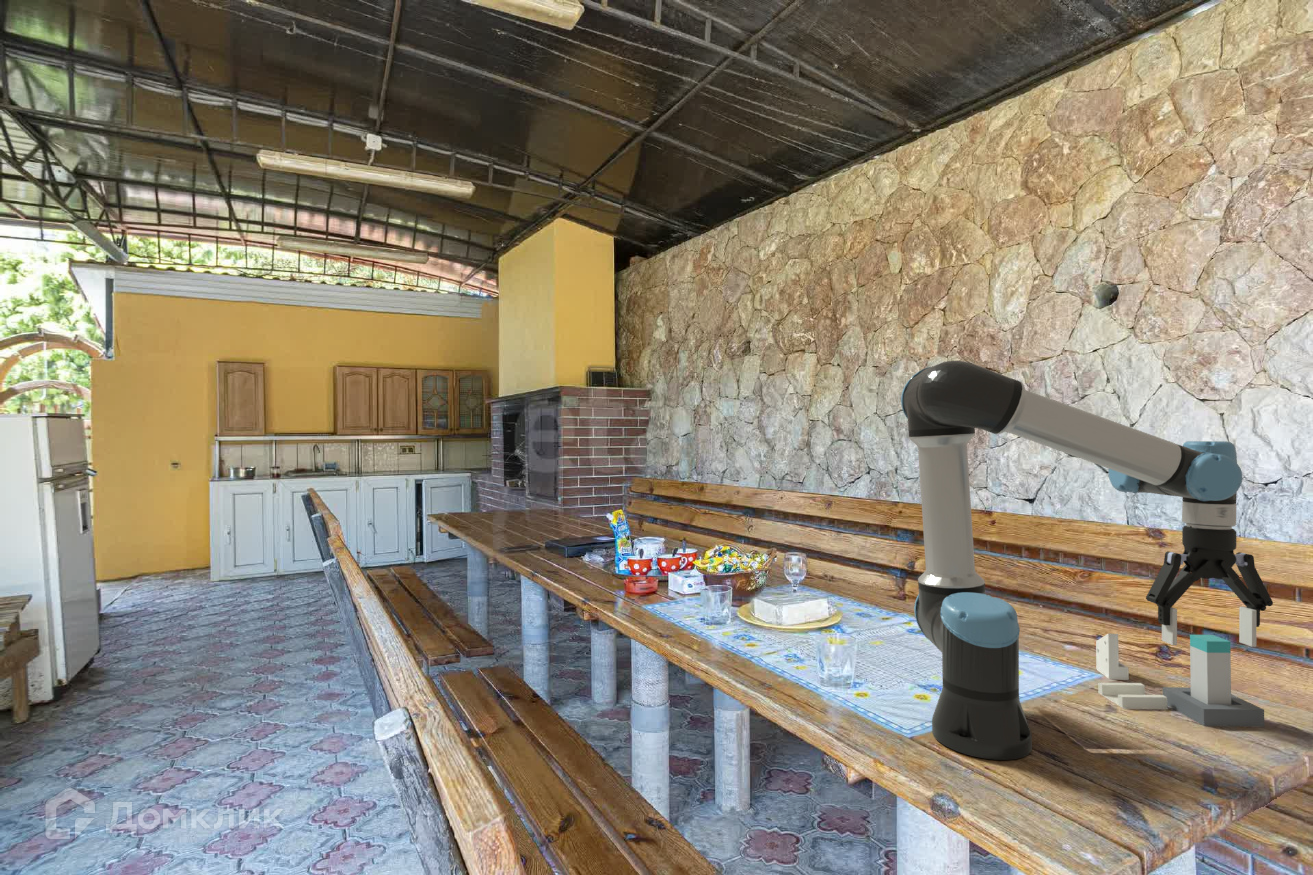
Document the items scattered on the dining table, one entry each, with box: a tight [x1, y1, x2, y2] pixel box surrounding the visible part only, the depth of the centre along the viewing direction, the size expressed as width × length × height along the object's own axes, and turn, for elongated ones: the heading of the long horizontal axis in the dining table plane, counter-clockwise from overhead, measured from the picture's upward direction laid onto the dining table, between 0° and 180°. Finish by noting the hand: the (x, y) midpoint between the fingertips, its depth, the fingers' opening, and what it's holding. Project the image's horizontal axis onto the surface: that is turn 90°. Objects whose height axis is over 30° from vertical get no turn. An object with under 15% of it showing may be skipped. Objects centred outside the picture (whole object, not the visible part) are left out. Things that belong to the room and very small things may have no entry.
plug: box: [1189, 634, 1232, 705], centre depth 119 cm, size 4×4×14 cm
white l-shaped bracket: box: [1095, 633, 1130, 681], centre depth 138 cm, size 4×10×9 cm
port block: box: [1162, 686, 1265, 728], centre depth 119 cm, size 10×10×4 cm
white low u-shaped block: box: [1096, 682, 1169, 710], centre depth 126 cm, size 8×8×3 cm
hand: (1208, 643), depth 119 cm, fingers open, 13 cm apart
